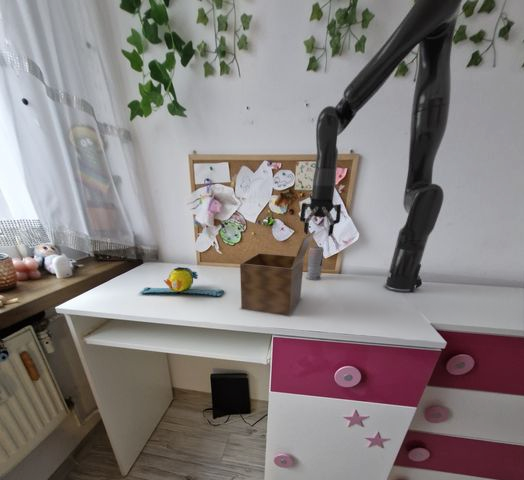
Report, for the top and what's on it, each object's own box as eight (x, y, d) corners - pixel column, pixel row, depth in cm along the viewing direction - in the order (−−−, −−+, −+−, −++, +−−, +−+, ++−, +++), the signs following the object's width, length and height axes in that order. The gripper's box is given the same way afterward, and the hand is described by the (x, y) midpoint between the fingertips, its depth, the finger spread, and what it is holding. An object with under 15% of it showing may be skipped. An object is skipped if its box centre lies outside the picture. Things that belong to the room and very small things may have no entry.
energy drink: (321, 277, 112) (324, 246, 106) (319, 280, 108) (322, 249, 102) (308, 275, 114) (311, 245, 108) (305, 279, 109) (308, 248, 103)
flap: (303, 254, 84) (304, 255, 84) (291, 266, 72) (293, 266, 72) (314, 230, 79) (315, 231, 79) (303, 238, 67) (304, 239, 67)
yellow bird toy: (127, 271, 85) (148, 261, 98) (134, 298, 90) (153, 284, 103) (215, 274, 84) (225, 263, 97) (218, 301, 88) (226, 287, 101)
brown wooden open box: (300, 298, 91) (303, 257, 84) (288, 315, 79) (292, 269, 72) (258, 293, 95) (258, 253, 88) (241, 308, 83) (239, 263, 76)
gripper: (301, 184, 93) (297, 235, 101) (344, 184, 89) (336, 237, 97) (305, 184, 99) (301, 232, 107) (345, 184, 95) (338, 234, 103)
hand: (318, 234), depth 102 cm, fingers open, 8 cm apart
